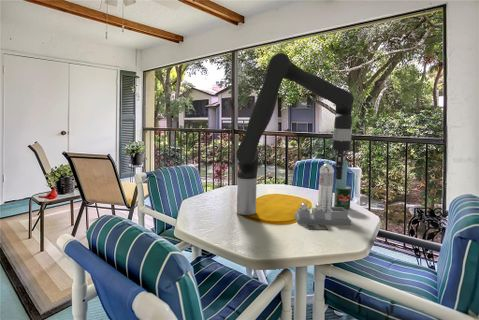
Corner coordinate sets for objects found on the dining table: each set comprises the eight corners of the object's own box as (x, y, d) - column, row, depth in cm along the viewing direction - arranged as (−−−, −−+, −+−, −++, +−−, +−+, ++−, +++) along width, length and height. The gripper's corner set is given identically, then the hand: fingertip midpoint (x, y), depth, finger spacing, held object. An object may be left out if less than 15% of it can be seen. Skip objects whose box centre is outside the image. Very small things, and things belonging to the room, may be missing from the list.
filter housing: (297, 223, 131) (298, 211, 130) (294, 216, 140) (295, 205, 139) (351, 225, 130) (351, 212, 129) (344, 217, 139) (345, 206, 138)
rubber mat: (308, 229, 124) (308, 228, 124) (306, 225, 129) (306, 224, 129) (328, 230, 124) (328, 229, 124) (325, 225, 129) (325, 224, 129)
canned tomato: (341, 204, 160) (343, 184, 158) (353, 208, 153) (354, 187, 151) (330, 206, 156) (331, 185, 155) (341, 210, 149) (342, 189, 148)
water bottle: (332, 212, 146) (335, 162, 142) (317, 211, 147) (320, 161, 144) (331, 208, 153) (333, 160, 149) (317, 207, 154) (319, 159, 150)
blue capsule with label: (342, 189, 129) (345, 159, 127) (333, 187, 132) (335, 158, 130) (347, 188, 132) (350, 158, 130) (338, 186, 135) (340, 157, 133)
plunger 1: (300, 215, 132) (301, 204, 132) (299, 213, 135) (300, 203, 134) (307, 216, 132) (307, 205, 131) (306, 213, 135) (306, 203, 134)
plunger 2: (315, 216, 132) (316, 205, 131) (314, 214, 135) (314, 203, 134) (322, 216, 132) (322, 205, 131) (320, 214, 135) (321, 203, 134)
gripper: (334, 137, 137) (331, 174, 140) (331, 140, 124) (328, 180, 126) (351, 138, 134) (348, 176, 137) (350, 140, 121) (347, 182, 124)
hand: (339, 178), depth 132 cm, fingers closed on blue capsule with label, 4 cm apart
